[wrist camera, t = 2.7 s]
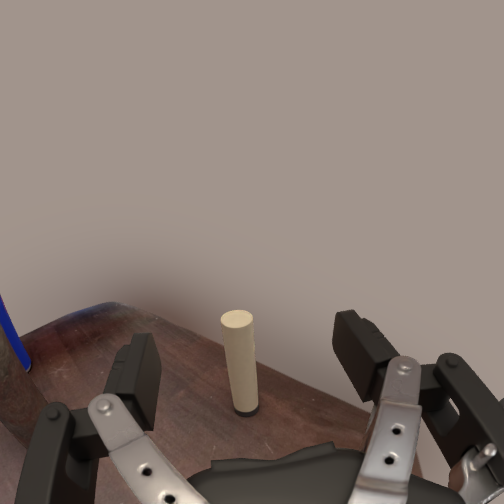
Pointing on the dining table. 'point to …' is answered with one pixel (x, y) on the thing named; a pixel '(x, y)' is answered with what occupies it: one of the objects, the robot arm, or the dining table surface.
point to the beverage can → (13, 337)
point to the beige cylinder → (241, 360)
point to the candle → (17, 395)
